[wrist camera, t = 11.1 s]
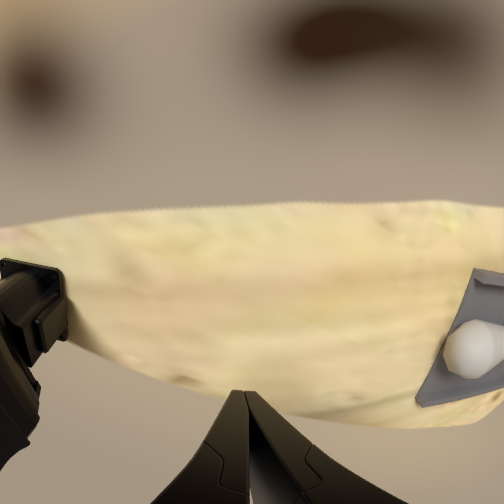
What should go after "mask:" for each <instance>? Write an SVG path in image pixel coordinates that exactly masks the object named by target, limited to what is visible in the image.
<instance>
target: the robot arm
mask: <svg viewBox="0 0 504 504" xmlns="http://www.w3.org/2000/svg"><path fill="white" fill-rule="evenodd" d="M4 263H5V265H4ZM0 273H1V279H0V471H1V469H2V468H3V466H4V465H5V464H6V463H7V461H8V460H9V459H10V458H11V457H12V456H13V455H14V454H16V453H17V452H18V451H19V450H21V449H23V448H25V447H27V446H29V445H30V441H29V440H28V439H27V438H28V437H29V436H30V434H31V433H32V432H33V430H34V429H35V428H36V426H37V424H38V422H39V419H40V417H39V415H38V409H39V396H40V390H41V386H40V384H39V383H38V381H36V380H35V378H34V377H33V375H32V373H31V372H30V369H29V368H28V367H30V368H31V367H32V366H33V365H34V364H35V362H36V361H37V359H38V358H39V357H40V355H41V354H42V353H47V352H48V351H49V349H50V348H51V347H52V345H53V344H54V343H55V341H56V340H59V341H63V342H64V341H66V340H67V338H68V329H67V325H68V320H67V312H66V304H65V298H64V296H63V287H62V275H61V272H60V270H59V269H57V268H53V267H48V266H43V265H38V264H33V263H28V262H23V261H18V260H13V259H9V258H3V259H1V260H0ZM54 273H55V274H56V276H57V277H55V276H54ZM61 334H62V335H63V336H62V335H61ZM249 489H250V490H251V495H252V499H253V504H408V503H406V502H404V501H402V500H400V499H398V498H397V497H395V496H393V495H391V494H389V493H388V492H386V491H384V490H382V489H380V488H378V487H377V486H375V485H373V484H372V483H370V482H368V481H366V480H365V479H363V478H361V477H360V476H358V475H356V474H354V473H353V472H351V471H350V470H348V469H347V468H345V467H344V466H342V465H341V464H339V463H338V462H336V461H334V460H333V459H332V458H330V457H329V456H328V455H327V454H325V453H324V452H323V451H321V450H320V449H319V448H318V447H316V445H312V443H311V442H310V441H309V440H308V439H307V438H306V437H304V436H303V435H302V434H301V433H300V432H299V431H298V430H297V429H295V428H294V427H293V426H292V425H291V424H290V423H289V422H288V421H287V420H285V419H284V418H283V417H282V416H281V415H280V414H279V413H278V412H277V411H276V410H275V409H274V408H272V407H271V406H270V405H269V404H268V403H267V402H266V401H265V400H264V399H263V398H262V397H261V396H260V395H259V394H258V393H257V392H255V391H244V392H243V391H242V390H232V391H231V392H230V394H229V396H228V398H227V400H226V401H225V403H224V405H223V407H222V409H221V411H220V413H219V414H218V416H217V418H216V420H215V421H214V423H213V425H212V427H211V428H210V430H209V432H208V434H207V435H206V437H205V439H204V440H203V442H202V444H201V445H200V447H199V449H198V450H197V452H196V453H195V455H194V457H193V458H192V459H191V460H190V462H189V463H188V464H187V465H186V466H185V468H184V469H183V470H182V471H181V472H180V473H179V474H178V475H177V477H176V478H175V479H174V480H173V481H172V482H171V483H170V484H169V485H168V486H167V487H166V488H165V489H164V490H163V491H162V492H161V493H160V494H159V495H158V496H157V498H156V499H155V500H154V501H152V503H151V504H250V498H249V496H250V492H249V491H250V490H249Z"/></svg>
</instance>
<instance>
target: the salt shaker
mask: <svg viewBox="0 0 504 504" xmlns="http://www.w3.org/2000/svg"><path fill="white" fill-rule="evenodd" d="M443 357H444V359H445V362H446V365H447V368H448V370H449V371H450V372H453V373H455V374H458V375H460V376H461V377H463V378H465V379H476V378H480V377H481V376H483V375H484V374H485V373H487V372H488V371H490V370H491V369H492V368H494V367H495V366H496V365H498V364H499V363H500V362H501V361H503V360H504V325H499V324H495V323H491V322H487V321H482V320H478V319H474V320H471V321H467V322H464V323H463V324H462V325H461V326H460V327H459V328H457V329H456V330H455V331H454V332H453V333H452V334H451V335H449V336H448V338H447V341H446V345H445V349H444V352H443Z"/></svg>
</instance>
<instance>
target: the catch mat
mask: <svg viewBox="0 0 504 504" xmlns="http://www.w3.org/2000/svg"><path fill="white" fill-rule="evenodd" d="M474 319H478V320H482V321H487V322H491V323H495V324H499V325H504V273H498V272H493V271H487V270H482V269H476V268H474V270H473V273H472V276H471V278H470V281H469V284H468V287H467V290H466V292H465V295H464V298H463V300H462V303H461V305H460V308H459V310H458V313H457V315H456V317H455V320H454V322H453V324H452V327H451V329H450V331H449V333H448V336H449V335H451V334H452V333H453V332H454V331H455V330H456V329H457V328H459V327H460V326H461V325H462V324H463V323H464V322H467V321H471V320H474ZM448 336H447V338H448ZM447 338H446V340H445V342H444V344H443V346H442V348H441V350H440V352H439V354H438V356H437V358H436V360H435V362H434V364H433V366H432V368H431V370H430V372H429V374H428V376H427V377H426V379H425V381H424V383H423V385H422V386H421V388H420V390H419V392H418V393H417V395H416V397H415V398H416V400H417V401H418V403H419V404H420V406H421V407H422V408H424V407H429V406H434V405H439V404H444V403H448V402H453V401H457V400H461V399H465V398H469V397H473V396H477V395H481V394H484V393H488V392H491V391H494V390H498V389H501V388H504V360H503V361H501V362H500V363H499V364H498V365H496V366H495V367H494V368H492V369H491V370H490V371H488V372H487V373H485V374H484V375H483V376H481V377H480V378H476V379H465V378H463V377H461V376H460V375H458V374H455V373H453V372H450V371H449V370H448V368H447V365H446V362H445V359H444V357H443V352H444V349H445V345H446V341H447Z"/></svg>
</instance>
